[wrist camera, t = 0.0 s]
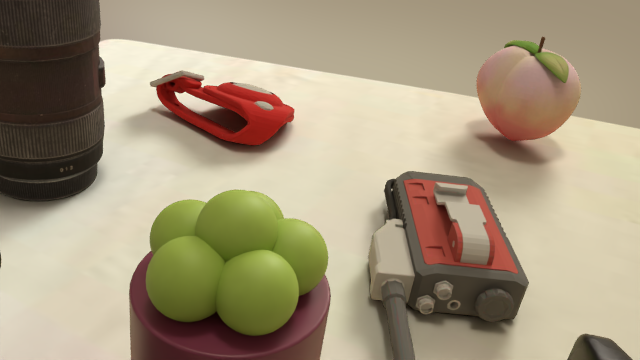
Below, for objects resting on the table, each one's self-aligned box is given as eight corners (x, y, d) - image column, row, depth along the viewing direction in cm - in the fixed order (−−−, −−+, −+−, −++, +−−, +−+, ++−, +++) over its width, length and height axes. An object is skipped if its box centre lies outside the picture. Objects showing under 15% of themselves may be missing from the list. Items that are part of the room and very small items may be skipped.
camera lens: (18, 140, 45) (-9, -75, 38) (125, 158, 45) (119, -55, 38) (-51, 195, 38) (-100, -56, 31) (75, 217, 38) (56, -31, 31)
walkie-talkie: (356, 194, 45) (382, 422, 28) (366, 141, 43) (401, 352, 25) (471, 207, 46) (568, 437, 28) (487, 155, 43) (603, 370, 26)
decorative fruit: (580, 159, 56) (621, 54, 51) (512, 167, 53) (549, 56, 48) (513, 116, 63) (543, 21, 58) (449, 121, 60) (476, 20, 55)
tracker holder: (280, 88, 58) (320, 107, 49) (269, 133, 59) (305, 159, 50) (152, 57, 53) (170, 71, 44) (142, 106, 54) (157, 131, 45)
